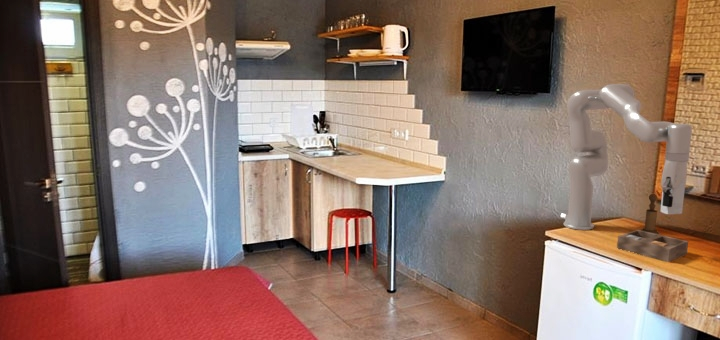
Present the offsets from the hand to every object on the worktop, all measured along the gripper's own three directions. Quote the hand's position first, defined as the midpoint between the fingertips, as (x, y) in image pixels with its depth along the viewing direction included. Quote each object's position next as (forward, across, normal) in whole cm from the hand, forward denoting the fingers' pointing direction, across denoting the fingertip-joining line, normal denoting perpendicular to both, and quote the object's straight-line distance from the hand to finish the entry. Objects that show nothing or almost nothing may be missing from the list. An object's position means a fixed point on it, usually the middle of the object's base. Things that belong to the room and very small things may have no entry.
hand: (672, 204), depth 200 cm
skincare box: (+3, 0, 0) cm, 3 cm away
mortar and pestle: (+19, -17, -15) cm, 30 cm away
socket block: (+19, +2, -5) cm, 20 cm away
